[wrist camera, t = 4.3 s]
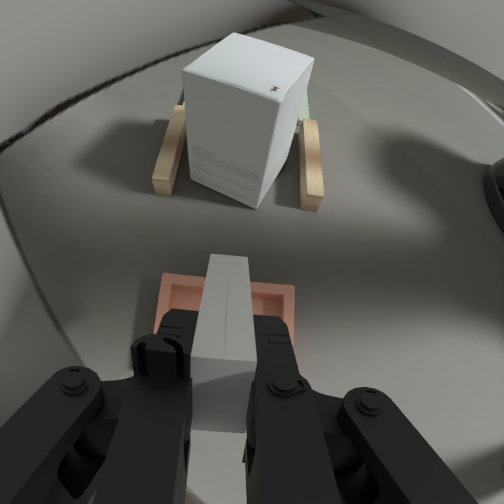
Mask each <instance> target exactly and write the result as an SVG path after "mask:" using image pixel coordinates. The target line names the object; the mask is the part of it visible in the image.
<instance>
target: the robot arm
mask: <svg viewBox="0 0 504 504" xmlns="http://www.w3.org/2000/svg"><path fill="white" fill-rule="evenodd" d="M484 188H485V193H486V197H487V200H488V203H489V206H490V208H491V210H492V213H493V215H494V217H495V219H496V220H497V222H498V224H499V226H500V227H501V229H502V230H503V232H504V158H503V159H501V160H498V161H497V162H495V163H494V164H493V165H492V166H491V167H490V168H489V169H488V171H487V172H486V174H485V177H484ZM131 354H132V362H133V370H134V376H133V377H130V378H127V379H123V380H114V381H101V380H100V378H99V377H98V375H97V373H95V372H94V371H92V370H91V369H89V368H85V367H81V366H71V367H67V368H64V369H61V370H59V371H58V372H56V373H55V374H54V375H53V376H52V377H51V378H49V380H47V382H45V383H44V384H43V385H42V386H41V387H40V388H39V390H37V391H36V392H35V393H34V394H33V396H31V397H30V398H29V399H28V401H26V402H25V403H24V404H23V405H22V406H21V408H19V409H18V410H17V411H16V412H15V413H14V415H12V417H11V418H10V419H9V420H8V421H7V422H6V423H5V424H4V425H3V426H2V427H1V428H0V504H87V503H88V502H89V500H90V499H91V497H92V495H93V494H94V492H95V491H96V493H95V497H94V501H93V504H185V496H186V485H187V474H188V464H189V454H190V432H191V429H195V430H206V431H218V432H234V433H245V431H247V439H246V445H245V450H244V455H243V461H242V463H245V468H246V494H247V504H478V503H477V502H476V501H475V499H474V498H473V497H472V496H471V495H470V493H469V492H468V491H467V490H466V488H465V487H464V486H463V485H462V484H461V482H460V481H459V480H458V479H457V478H456V476H455V475H454V474H453V473H452V471H451V470H450V469H449V468H448V467H447V465H446V464H445V463H444V462H443V461H442V459H441V458H440V457H439V456H438V455H437V453H436V452H435V451H434V450H433V449H432V447H431V446H430V445H429V444H428V443H427V441H426V440H425V439H424V438H423V437H422V435H421V434H420V433H419V432H418V431H417V430H416V428H415V427H414V426H413V425H412V424H411V422H410V421H409V420H408V419H407V418H406V416H405V415H404V414H403V413H402V412H401V410H400V409H399V408H398V407H397V406H396V405H395V403H394V402H393V401H392V400H391V399H390V398H389V397H388V396H387V395H386V394H385V393H383V392H381V391H379V390H377V389H374V388H368V387H359V388H355V389H352V390H350V391H348V393H347V394H346V395H345V396H344V398H338V397H333V396H328V395H324V394H321V393H318V392H316V391H314V390H312V388H311V386H310V384H309V383H308V381H307V380H306V379H305V378H304V377H302V376H301V375H300V374H299V370H298V366H297V362H296V358H295V354H294V350H293V346H292V342H291V338H290V334H289V330H288V326H287V324H286V323H285V322H284V321H283V320H282V319H281V318H280V317H279V316H268V315H253V311H252V300H251V288H250V277H249V266H248V257H242V256H231V255H220V254H211V255H210V260H209V265H208V270H207V274H206V279H205V284H204V289H203V294H202V299H201V304H200V309H199V311H194V310H184V309H175V308H172V309H170V310H169V311H168V312H167V313H165V314H164V315H163V317H162V319H161V322H160V325H159V327H158V330H157V334H151V335H146V336H143V337H141V338H139V339H138V340H136V341H135V342H134V343H133V344H132V346H131ZM96 489H97V490H96Z"/></svg>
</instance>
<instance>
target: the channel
mask: <svg viewBox="0 0 504 504" xmlns="http://www.w3.org/2000/svg"><path fill="white" fill-rule="evenodd" d="M186 135H187V133H186V118H185V105H175V107H174V110H173V113H172V116H171V119H170V121H169V124H168V127H167V130H166V133H165V137H164V140H163V143H162V146H161V149H160V152H159V156H158V159H157V162H156V165H155V169H154V172H153V176H152V182H153V186H154V190H155V194H156V195H165V196H171V195H172V190H173V186H174V182H175V178H176V173H177V169H178V165H179V161H180V157H181V154H182V150H183V146H184V142H185V138H186ZM298 141H299V166H300V200H301V209H302V210H310V211H317V209H318V207H319V205H320V203H321V201H322V199H323V197H324V191H323V178H322V166H321V155H320V145H319V135H318V126H317V121H316V120H310V119H304V118H303V120H302V124H301V127H300V130H299V133H298Z"/></svg>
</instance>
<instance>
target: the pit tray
mask: <svg viewBox="0 0 504 504" xmlns="http://www.w3.org/2000/svg"><path fill="white" fill-rule="evenodd" d="M205 279H206V277H200V276H190V275H181V274H171V273H163V274H162V280H161V286H160V292H159V298H158V305H157V312H156V319H155V326H154V334H157V330H158V327H159V325H160V322H161V319H162V317H163V315H164V314H165V313H167V312H168V311H169V310H170V309H172V308H175V309H184V310H194V311H199V309H200V304H201V299H202V294H203V289H204V284H205ZM250 288H251V300H252V311H253V315H268V316H279V317H280V318H281V319H282V320H283V321H284V322H285V323H286V324H287V326H288V330H289V334H290V338H291V342H292V346H293V347H294V309H295V285H284V284H273V283H261V282H251V281H250Z"/></svg>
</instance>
